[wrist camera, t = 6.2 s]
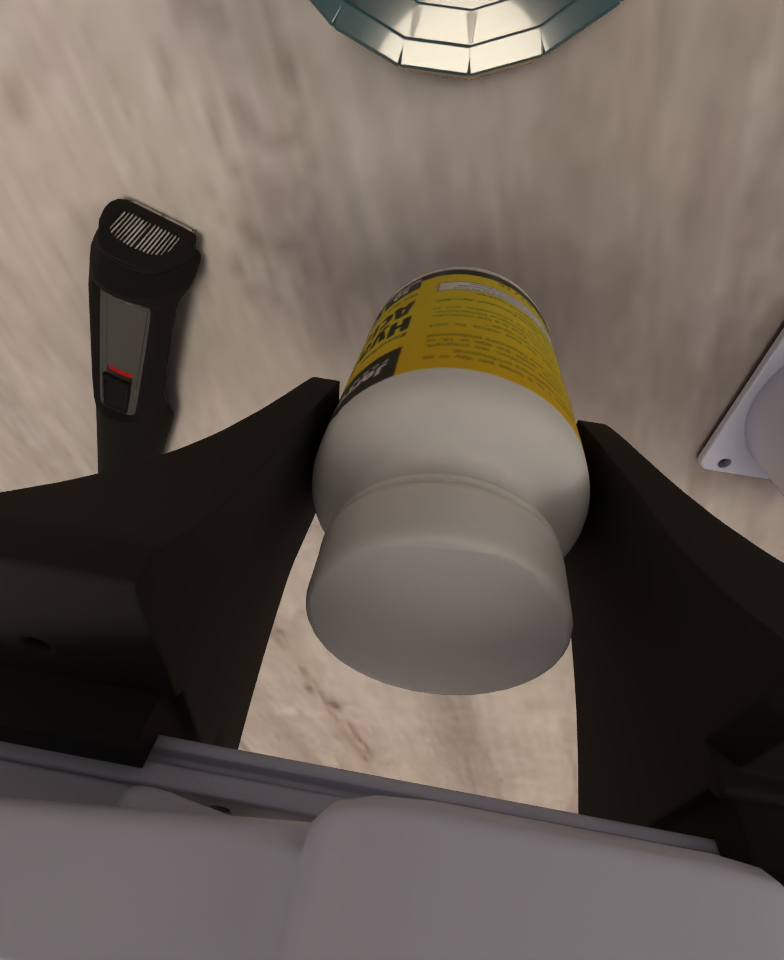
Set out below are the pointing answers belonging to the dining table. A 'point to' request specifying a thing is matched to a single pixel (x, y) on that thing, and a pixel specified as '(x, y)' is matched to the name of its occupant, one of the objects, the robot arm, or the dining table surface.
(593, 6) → the dish
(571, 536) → the supplement bottle
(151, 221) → the electric trimmer
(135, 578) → the robot arm
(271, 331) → the dining table surface
